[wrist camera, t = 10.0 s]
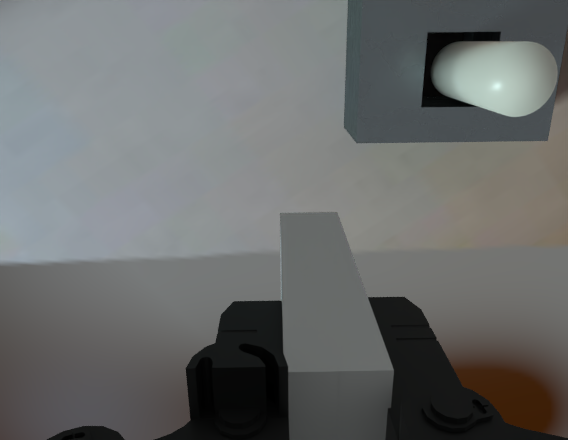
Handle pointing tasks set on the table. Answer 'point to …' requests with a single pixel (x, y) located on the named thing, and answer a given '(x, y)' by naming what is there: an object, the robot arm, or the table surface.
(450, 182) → the table surface
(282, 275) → the robot arm
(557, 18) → the grey peg holder block
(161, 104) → the table surface
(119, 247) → the table surface
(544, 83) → the white plug
